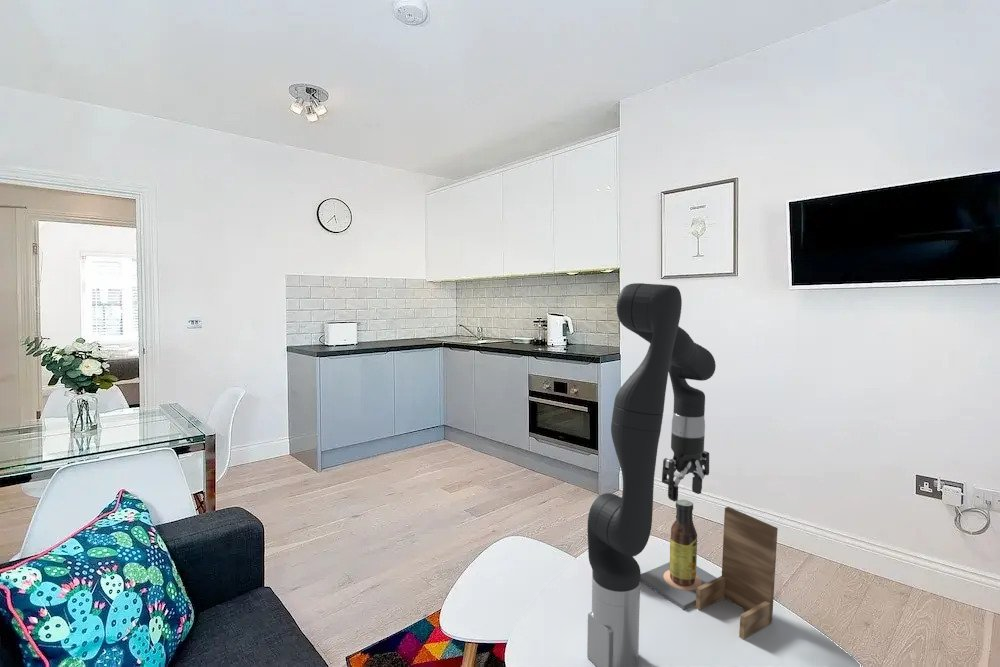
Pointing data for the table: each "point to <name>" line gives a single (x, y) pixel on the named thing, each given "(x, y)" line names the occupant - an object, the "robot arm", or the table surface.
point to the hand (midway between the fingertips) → (685, 496)
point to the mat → (675, 585)
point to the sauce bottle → (683, 545)
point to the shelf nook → (745, 571)
